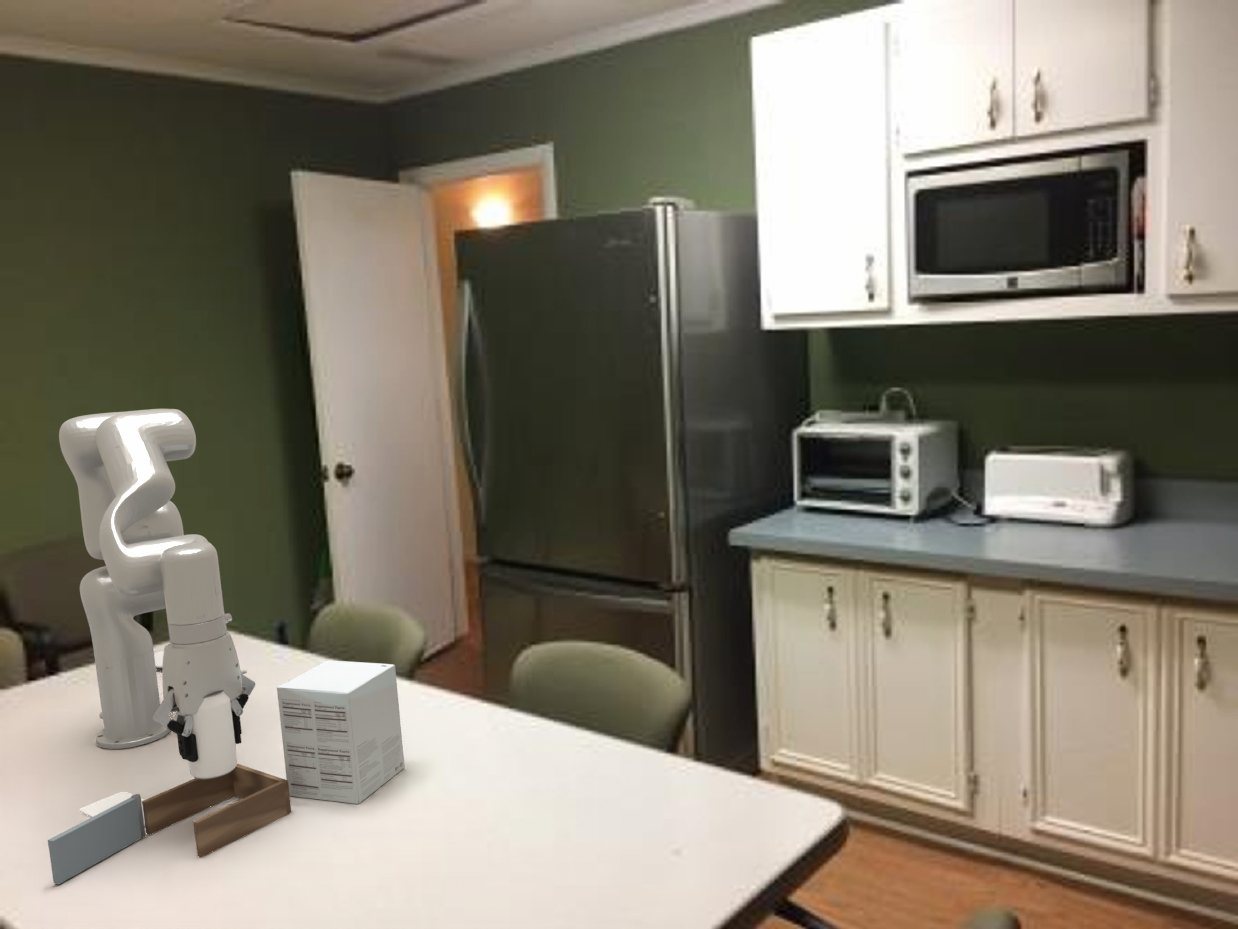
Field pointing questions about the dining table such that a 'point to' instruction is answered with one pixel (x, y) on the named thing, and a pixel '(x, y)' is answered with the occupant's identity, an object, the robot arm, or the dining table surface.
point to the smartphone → (106, 804)
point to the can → (214, 738)
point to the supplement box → (341, 730)
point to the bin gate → (96, 838)
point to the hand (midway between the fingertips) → (211, 749)
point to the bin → (256, 808)
